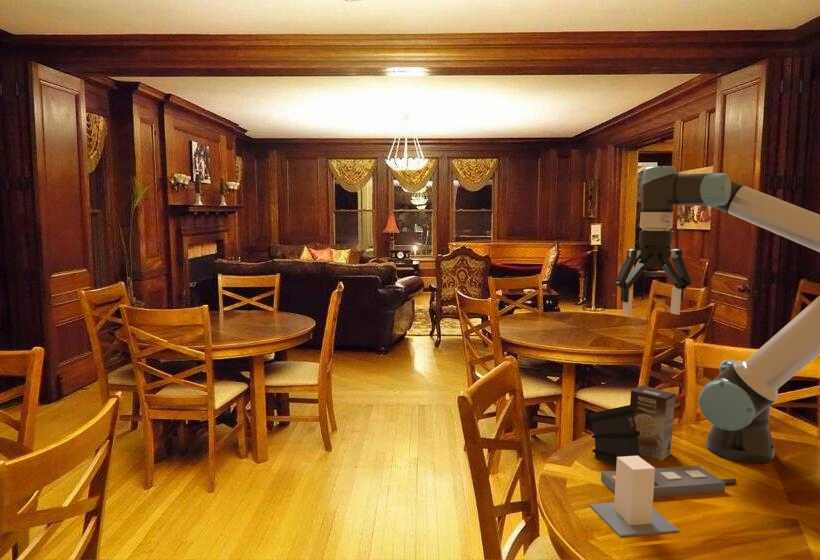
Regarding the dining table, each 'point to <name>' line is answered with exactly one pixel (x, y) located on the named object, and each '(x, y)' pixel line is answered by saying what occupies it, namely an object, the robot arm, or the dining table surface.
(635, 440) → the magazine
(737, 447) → the robot arm
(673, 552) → the dining table surface
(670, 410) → the coffee box
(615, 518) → the slate mat
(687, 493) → the power strip
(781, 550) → the dining table surface
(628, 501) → the beige rectangular block
